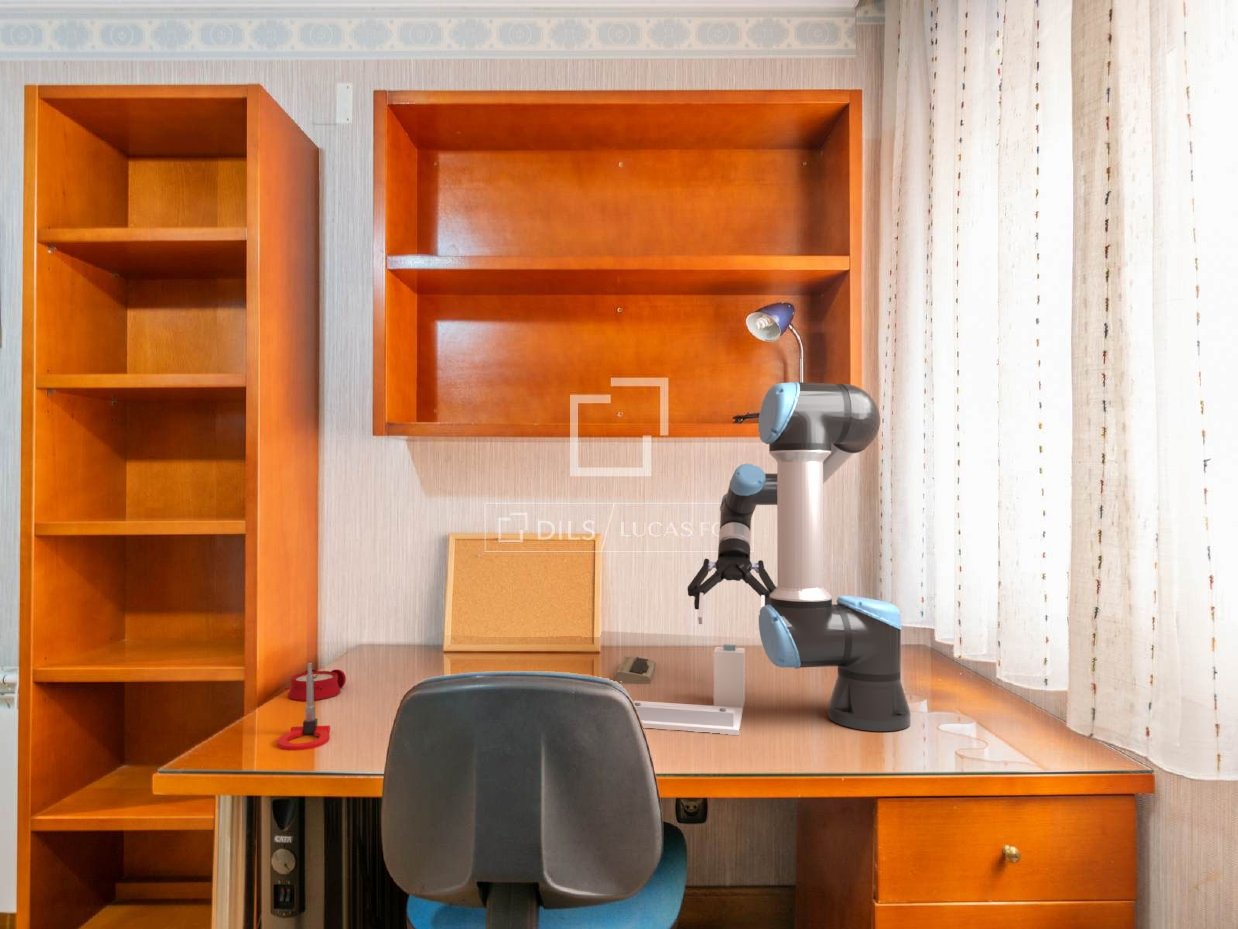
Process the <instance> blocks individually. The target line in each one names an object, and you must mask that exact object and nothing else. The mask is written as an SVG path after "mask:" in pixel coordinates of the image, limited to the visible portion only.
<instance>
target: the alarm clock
mask: <svg viewBox="0 0 1238 929" xmlns="http://www.w3.org/2000/svg"><path fill="white" fill-rule="evenodd" d="M312 674H313V676H314V701H319V700H325V699H329V698H332V697H336V696H337V695H340V694H341V688H343V687H344V686H345V684H346V681H347V677H346V674H345V672H344V670H341V669H338V668H337V669H332V670H331V671H329V670H317V669H313V668H312ZM306 675H308V669H307V670H306V671H304V672H302V673H298V674H294V675H293V676H292V677H291V679H290V684H291V685H290V686H289V687H285V690H286V691H289V692H288V693H287V698H289V699H291V700H295V701H301V702H302V703H307V685H306ZM288 689H289V690H288Z"/></svg>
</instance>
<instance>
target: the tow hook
mask: <svg viewBox="0 0 1238 929" xmlns="http://www.w3.org/2000/svg"><path fill="white" fill-rule="evenodd" d="M312 669H313V663H312V662H308V663H307V670H308V675H306V685H307V702H306V705H305V710H304V711H305V715H304V716H305V719H304V720H303V721H302V726H291V727H290V731H289V732H286V733H284V734H282V735H281V736H279V737H278V739H277V741H276V742H277V747H278V748H279V749H281V750H287V751H304V750H310V749H311V750H312V749H314V748H319V747H321V746H323V745H325V744H327V742H329V741H330V738H331V737H330V732H331V725H318V718H317V717H316V706H315V700H314V676H313V674H312ZM302 735H303V736H311V735H314V736H315V737H318V738H316V739H314V740H311V741H308V742H307V741H306V742H300V743H298V742H296V743H295V742H289V741H290V740H292V739H296V738H298V737H301V736H302Z"/></svg>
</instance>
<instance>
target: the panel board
mask: <svg viewBox="0 0 1238 929" xmlns="http://www.w3.org/2000/svg"><path fill="white" fill-rule="evenodd" d="M633 701H634V704H635V705H636V707H637V711H638V712H639V715H640V719H641V721H642V722H643V726H644V729H645V726H647V727H654V728H661V729H678V730H688V731H695V732H694V733H698V732H710V733H709V734H712V733H720V734H719V735H725V734H728V735H729V736H739V733H740V730H741V729H740V728H741V723H742V718H743V711H744V708H738V707H723V706H714V705H709V704H708V705H706V704H705V705H703V704H689V703H676V702H675V703H673V702H661V701H659V702H658V701H644V700H643V701H642V700H633ZM739 729H740V730H739Z"/></svg>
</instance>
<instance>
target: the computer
mask: <svg viewBox="0 0 1238 929" xmlns="http://www.w3.org/2000/svg"><path fill="white" fill-rule="evenodd" d="M656 664H657V663H656V660H654V659H649V658H642V657H639V656H628V655H627V656H624V657H623V659H622V661H621V663H620V664H619V667H618V669H617V671H616V672H615V676H614V682H615V681H617V682H619V683H618V684H632V683H633V685H634V684H636V685H637V684H638V685H649V684H651V683H650V682H651V680H652V678H653V674H654V671H655V668H656V667H657V665H656ZM620 681H622V682H623V683H621V682H620Z"/></svg>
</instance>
